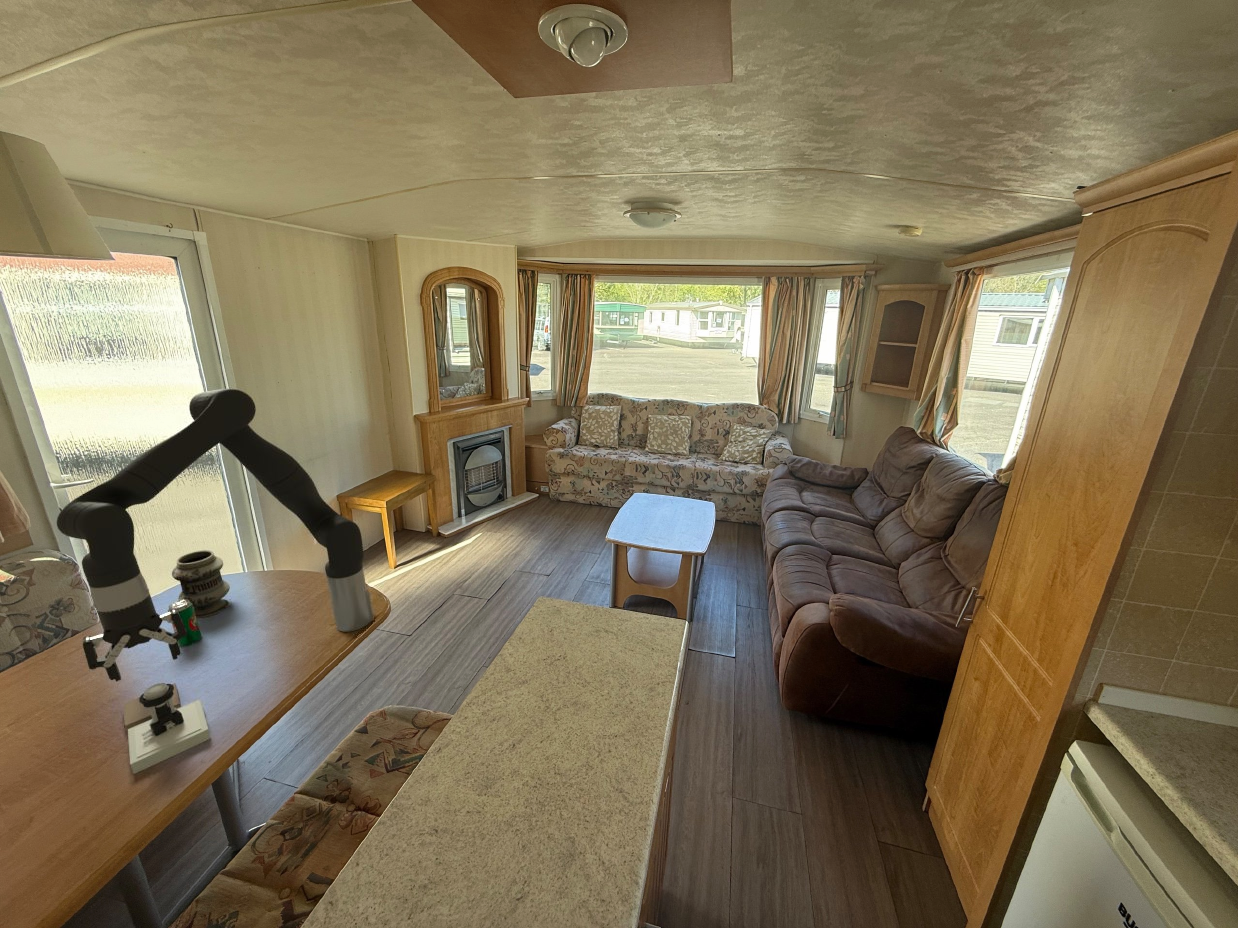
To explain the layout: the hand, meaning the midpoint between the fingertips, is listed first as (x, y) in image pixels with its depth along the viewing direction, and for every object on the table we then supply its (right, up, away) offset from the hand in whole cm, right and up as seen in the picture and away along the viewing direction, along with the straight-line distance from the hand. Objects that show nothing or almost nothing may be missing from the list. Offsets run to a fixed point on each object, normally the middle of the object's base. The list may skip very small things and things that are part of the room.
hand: (147, 667), depth 100 cm
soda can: (-23, -8, +36) cm, 44 cm away
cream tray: (0, -17, +5) cm, 18 cm away
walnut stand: (-11, -15, +13) cm, 23 cm away
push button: (-1, -15, +4) cm, 16 cm away
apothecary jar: (-30, -3, +51) cm, 60 cm away
